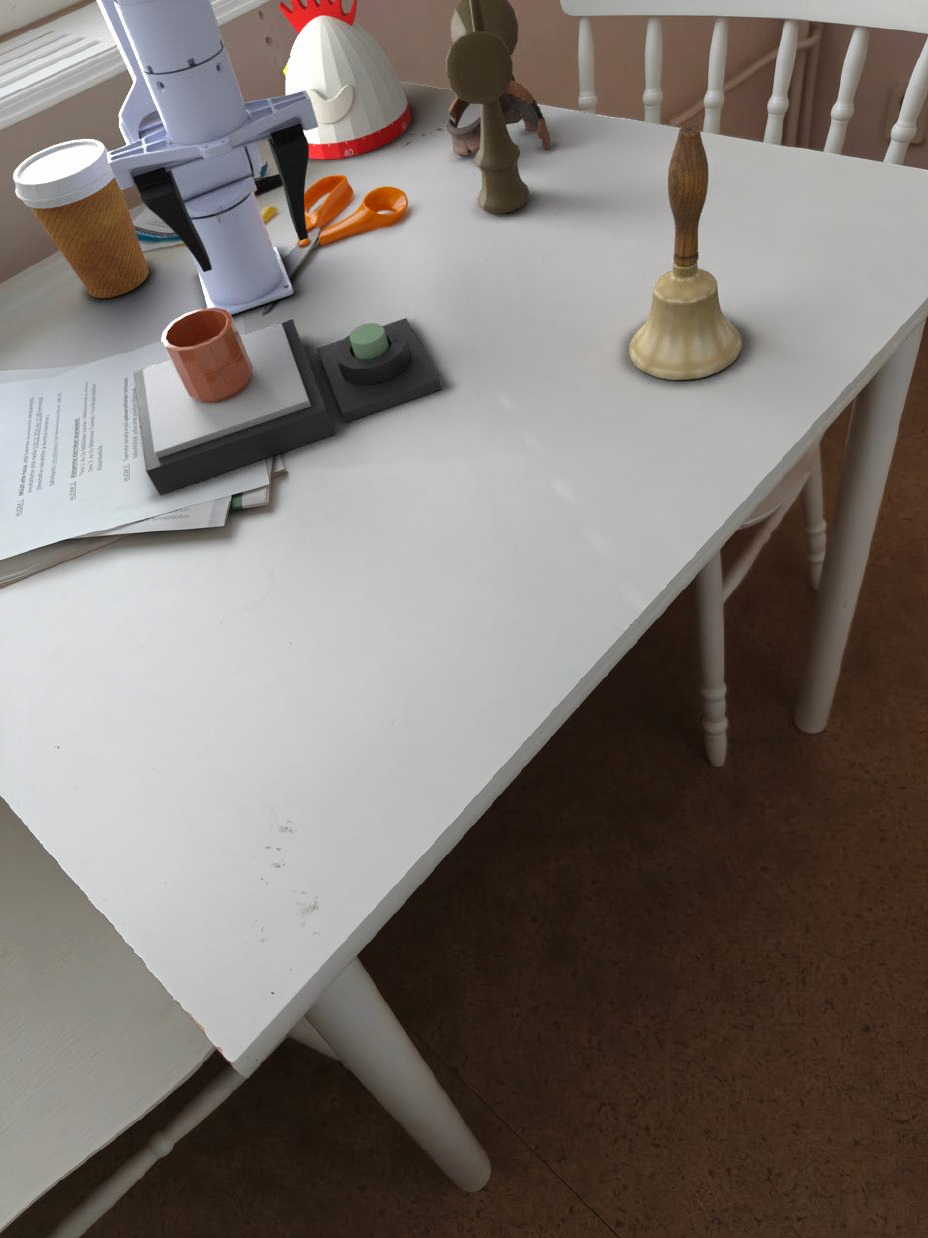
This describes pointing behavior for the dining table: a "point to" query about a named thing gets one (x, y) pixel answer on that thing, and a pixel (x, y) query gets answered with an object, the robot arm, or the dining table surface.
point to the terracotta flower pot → (208, 354)
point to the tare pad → (378, 373)
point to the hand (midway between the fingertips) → (254, 249)
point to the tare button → (369, 341)
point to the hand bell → (686, 285)
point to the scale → (230, 413)
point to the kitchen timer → (343, 81)
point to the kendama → (488, 94)
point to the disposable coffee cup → (84, 214)
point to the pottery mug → (514, 109)
